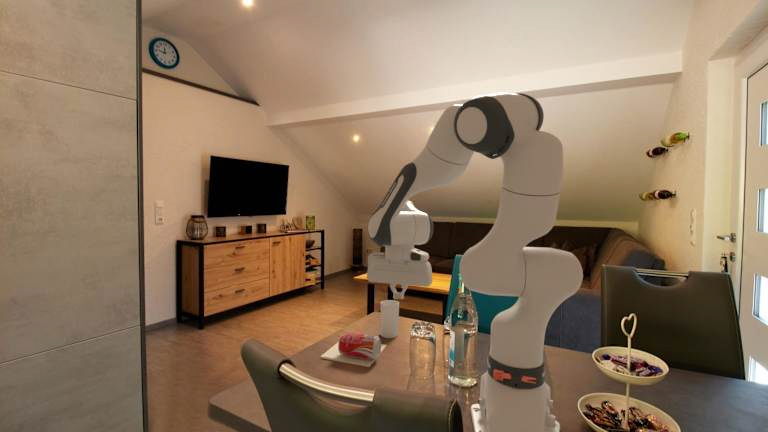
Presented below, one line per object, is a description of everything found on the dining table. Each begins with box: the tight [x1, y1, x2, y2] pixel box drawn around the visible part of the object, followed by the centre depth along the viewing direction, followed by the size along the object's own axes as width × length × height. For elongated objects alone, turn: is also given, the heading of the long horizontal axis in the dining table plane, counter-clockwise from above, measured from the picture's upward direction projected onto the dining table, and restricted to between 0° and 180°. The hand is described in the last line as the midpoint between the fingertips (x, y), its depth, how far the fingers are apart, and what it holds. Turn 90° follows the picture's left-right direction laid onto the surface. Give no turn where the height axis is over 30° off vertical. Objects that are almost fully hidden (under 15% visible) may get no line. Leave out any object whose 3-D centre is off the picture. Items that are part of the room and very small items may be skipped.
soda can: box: [338, 332, 382, 361], centre depth 109 cm, size 7×7×12 cm
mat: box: [320, 341, 387, 368], centre depth 114 cm, size 16×16×1 cm
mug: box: [380, 299, 400, 339], centre depth 131 cm, size 10×7×12 cm, turn 160°
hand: (398, 298), depth 109 cm, fingers closed
